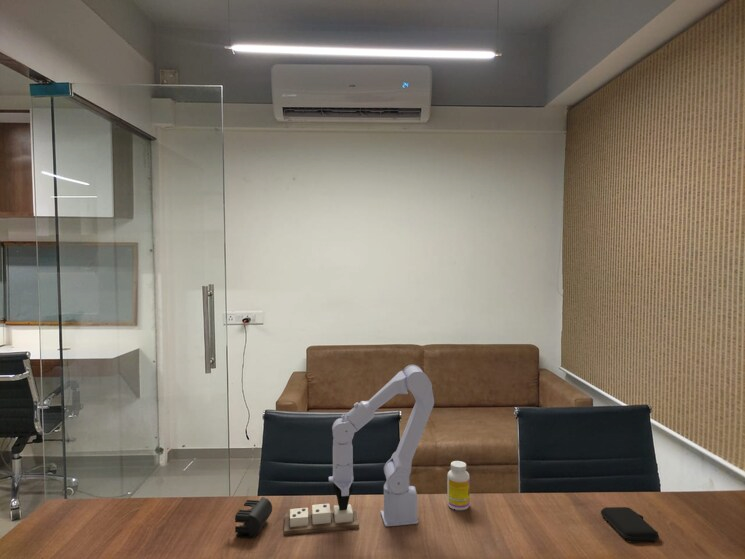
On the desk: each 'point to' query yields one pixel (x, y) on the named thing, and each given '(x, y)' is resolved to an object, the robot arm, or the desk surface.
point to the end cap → (252, 518)
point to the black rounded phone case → (629, 524)
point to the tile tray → (320, 525)
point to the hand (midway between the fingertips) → (342, 508)
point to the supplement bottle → (458, 486)
